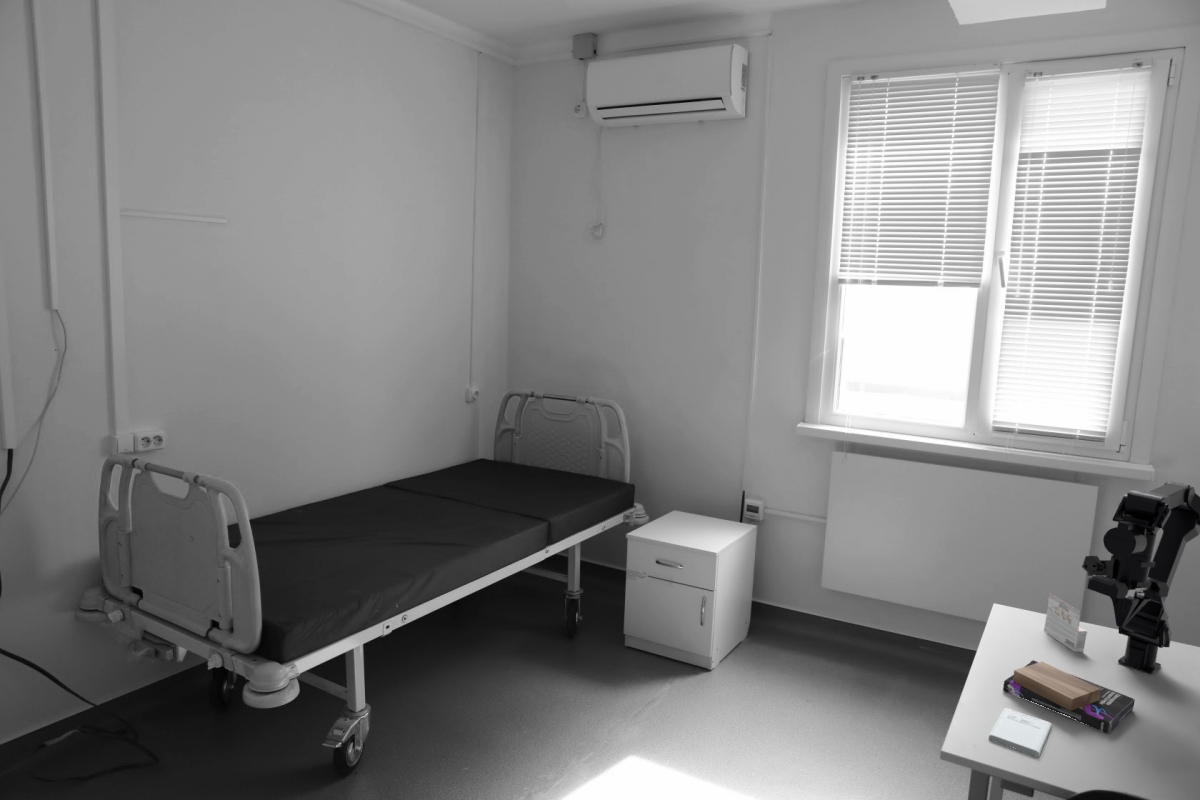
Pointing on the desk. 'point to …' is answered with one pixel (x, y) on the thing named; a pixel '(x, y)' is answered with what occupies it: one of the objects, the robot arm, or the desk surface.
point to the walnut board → (1056, 685)
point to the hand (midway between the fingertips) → (1119, 626)
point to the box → (1095, 714)
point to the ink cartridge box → (1065, 624)
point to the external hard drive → (1020, 731)
